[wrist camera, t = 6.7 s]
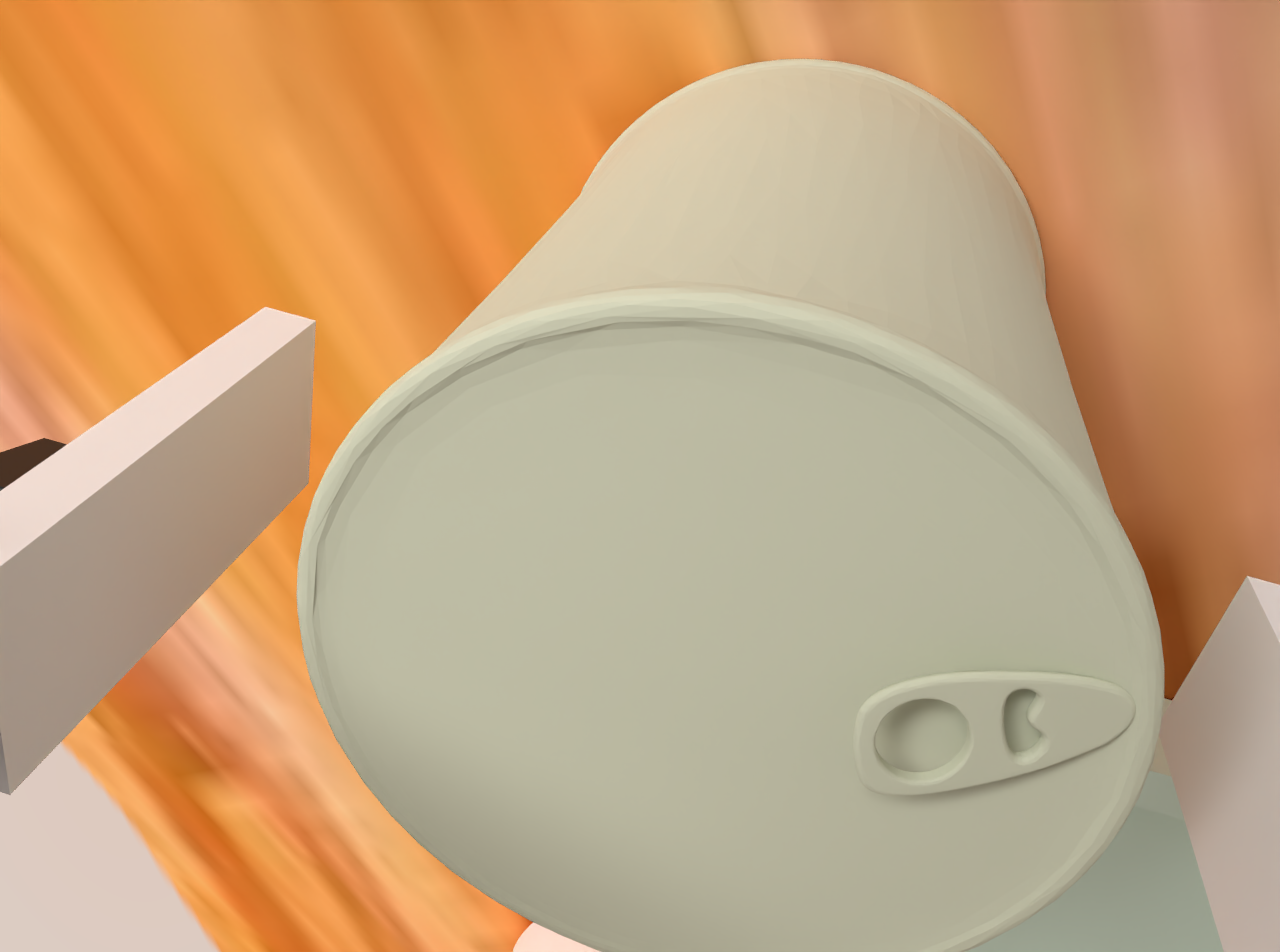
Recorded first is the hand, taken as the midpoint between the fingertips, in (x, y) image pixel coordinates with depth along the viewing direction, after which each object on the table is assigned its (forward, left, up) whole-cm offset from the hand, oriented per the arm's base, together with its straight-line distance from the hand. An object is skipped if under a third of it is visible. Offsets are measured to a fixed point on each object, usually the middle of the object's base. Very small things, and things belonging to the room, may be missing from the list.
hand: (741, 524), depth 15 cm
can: (0, 0, -7) cm, 7 cm away
